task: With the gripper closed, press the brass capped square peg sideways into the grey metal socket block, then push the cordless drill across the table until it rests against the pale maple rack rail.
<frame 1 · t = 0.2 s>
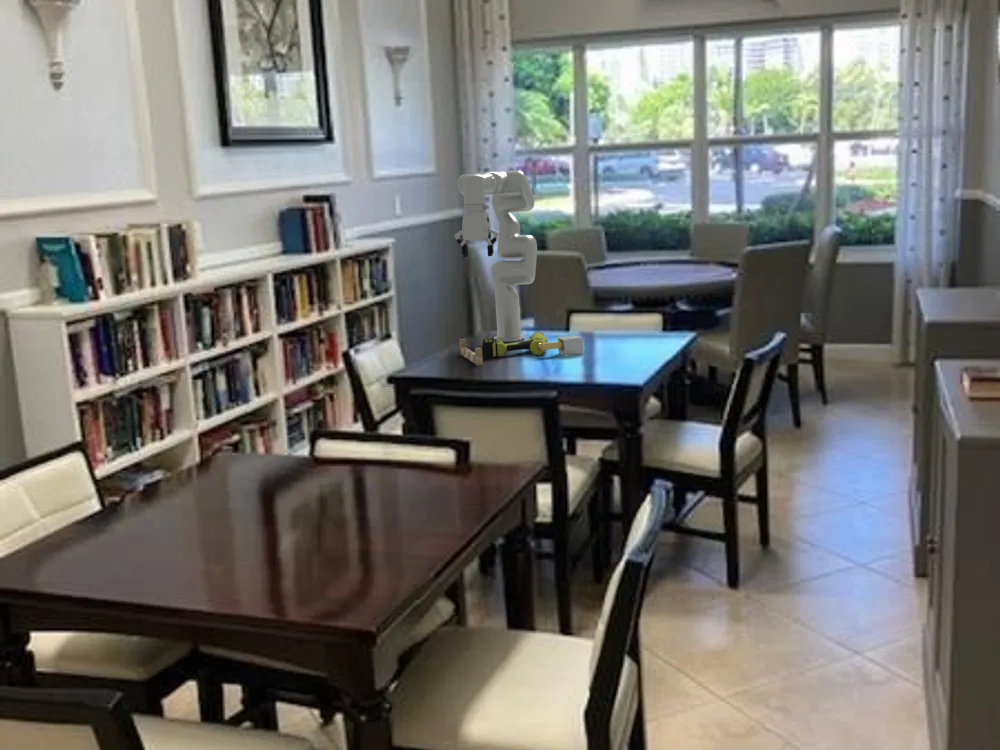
hand: (478, 256, 384), 37 cm above the table, tool pointing down, fingers open, 9 cm apart
socket block: (570, 353, 383), on the table
rack rail: (471, 359, 383), on the table
brass capped square peg: (551, 345, 380), point 4 cm above the table, slide at 0.0 cm
cordless drill: (515, 352, 395), on the table
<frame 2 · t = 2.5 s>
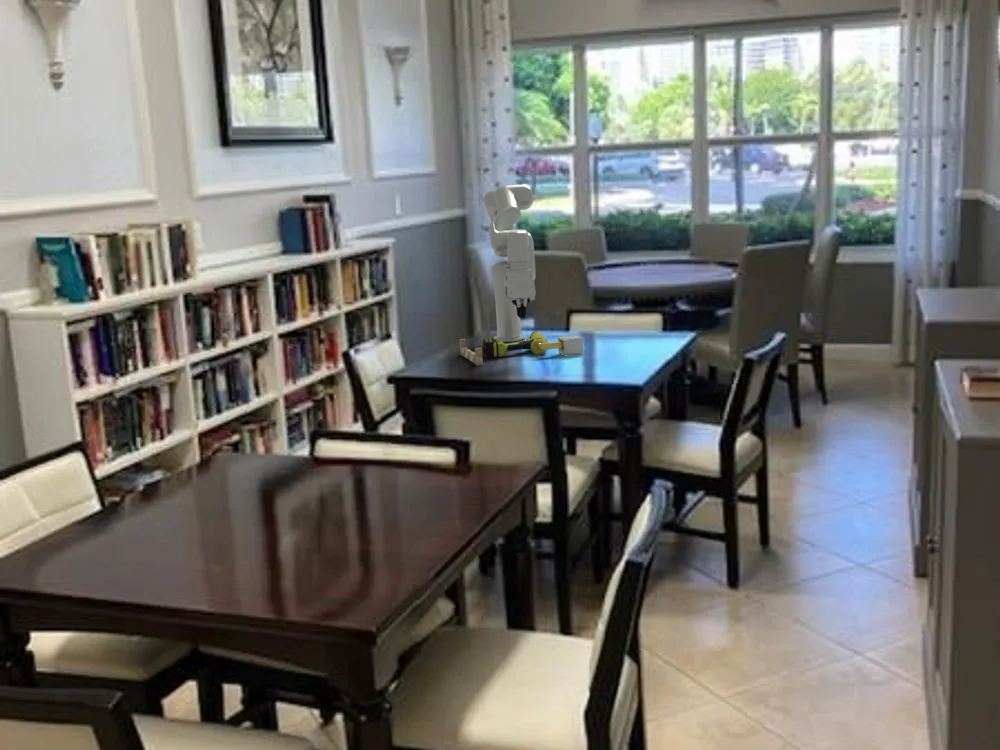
hand: (521, 317, 375), 15 cm above the table, tool pointing down, fingers closed
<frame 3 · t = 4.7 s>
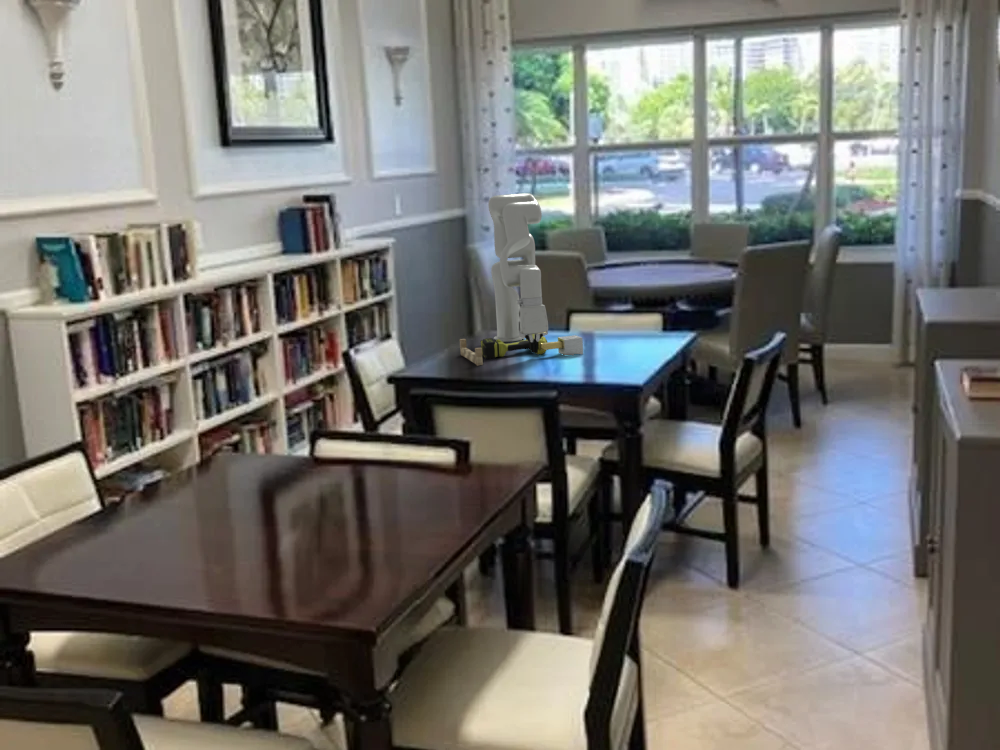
hand: (534, 352, 379), 2 cm above the table, tool pointing down, fingers closed
brass capped square peg: (552, 345, 380), point 4 cm above the table, slide at 0.7 cm, touching gripper
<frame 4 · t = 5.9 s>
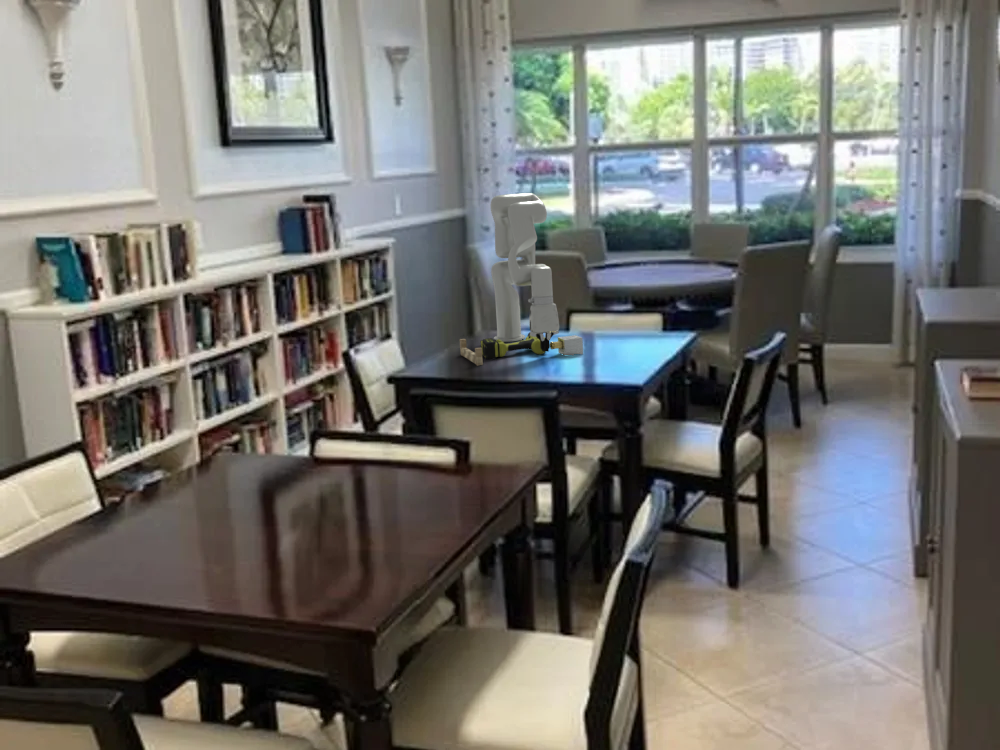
hand: (545, 350, 380), 2 cm above the table, tool pointing down, fingers closed
brass capped square peg: (563, 344, 382), point 4 cm above the table, slide at 4.8 cm, touching gripper
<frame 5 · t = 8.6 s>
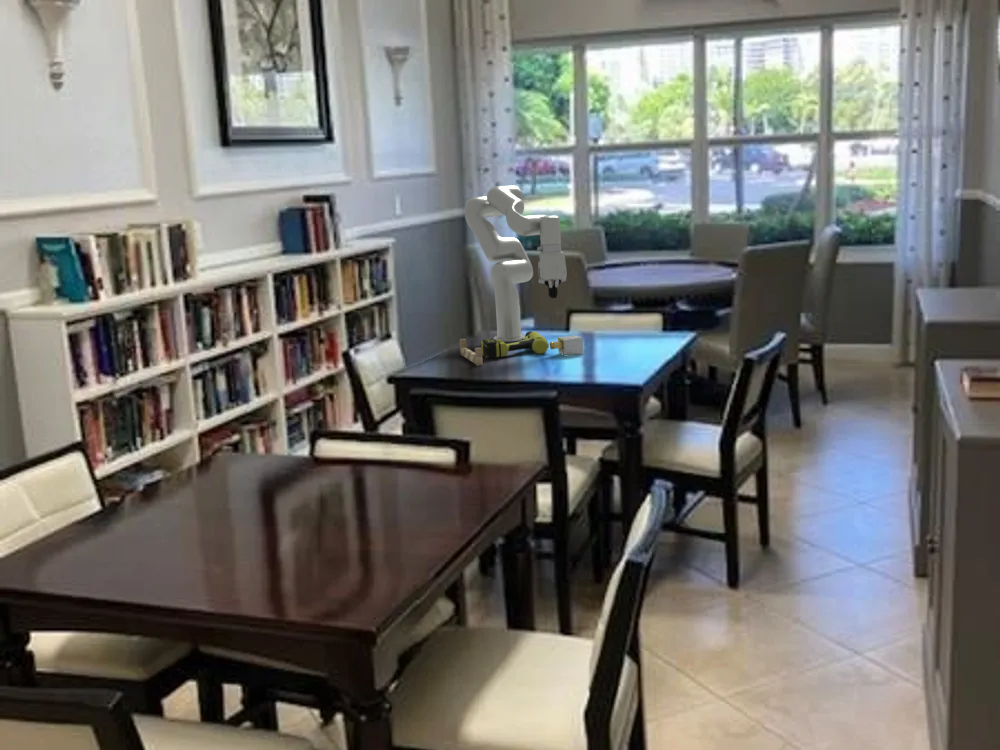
hand: (553, 297, 395), 19 cm above the table, tool pointing down, fingers closed
brass capped square peg: (563, 344, 382), point 4 cm above the table, slide at 4.9 cm
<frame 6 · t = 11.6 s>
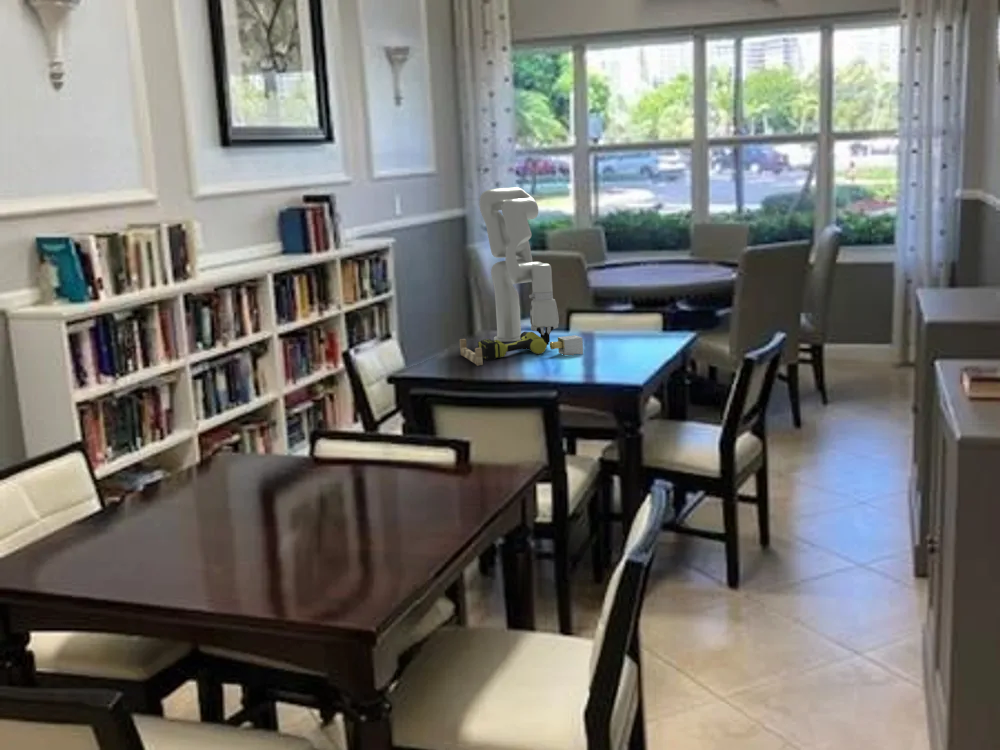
hand: (545, 344, 398), 1 cm above the table, tool pointing down, fingers closed
cordless drill: (509, 353, 394), on the table, touching gripper
everything else where it was.
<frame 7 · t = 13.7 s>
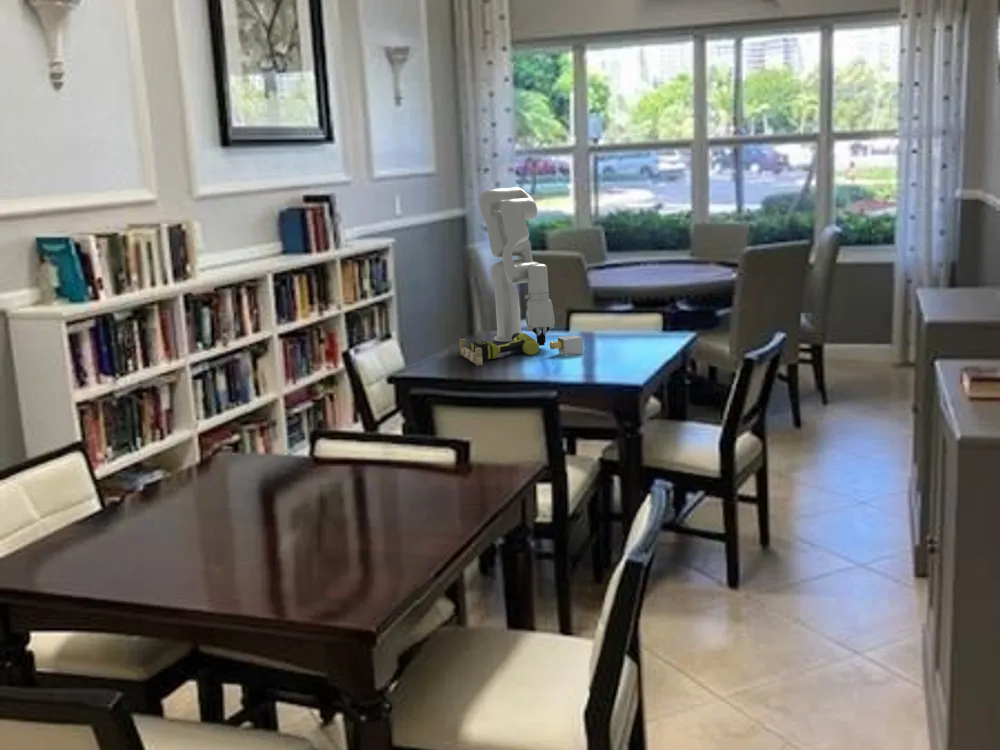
hand: (541, 344, 397), 1 cm above the table, tool pointing down, fingers closed
cordless drill: (501, 354, 393), on the table
everything else where it was.
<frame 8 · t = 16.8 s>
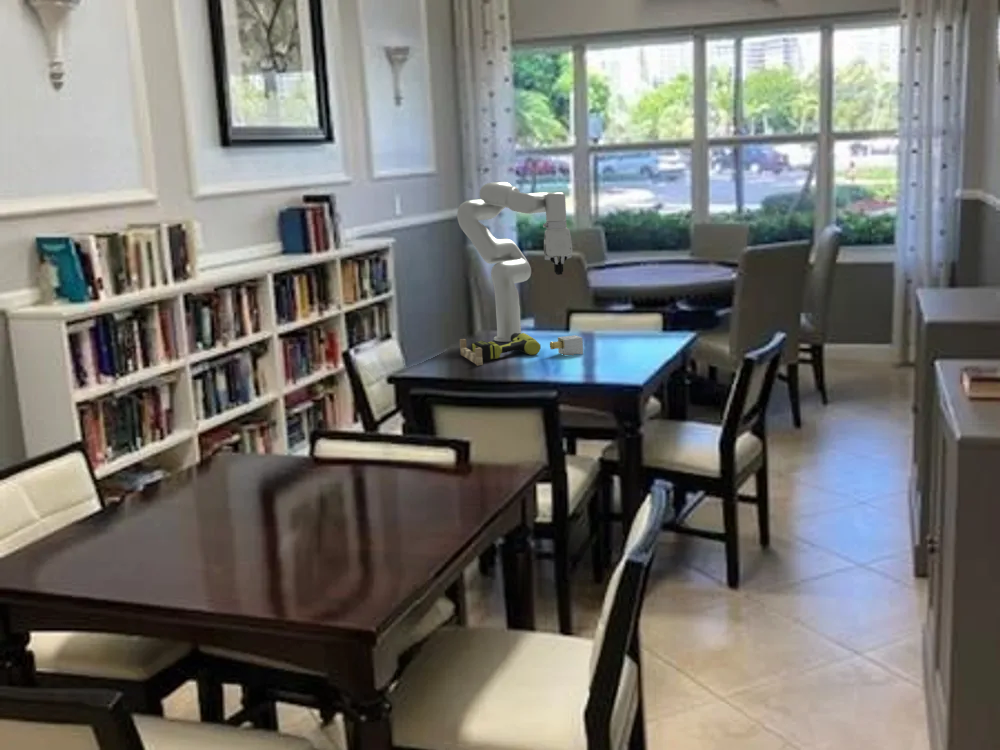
hand: (559, 274, 398), 27 cm above the table, tool pointing down, fingers closed
at the end: brass capped square peg slide at 4.9 cm; cordless drill inside the target area (4.0 cm from its centre), on the table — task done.
